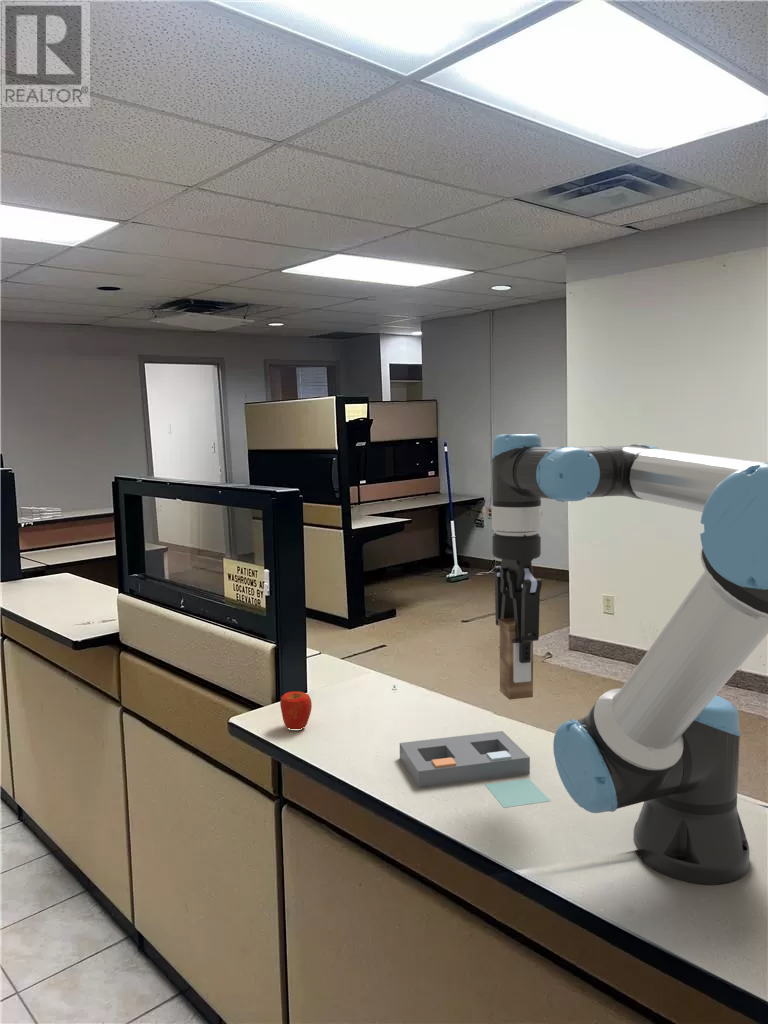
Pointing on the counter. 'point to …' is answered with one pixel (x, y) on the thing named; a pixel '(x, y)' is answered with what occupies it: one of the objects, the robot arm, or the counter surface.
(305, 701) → the apple
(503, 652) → the plug
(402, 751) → the port box
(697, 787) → the robot arm
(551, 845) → the counter surface
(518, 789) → the plate
